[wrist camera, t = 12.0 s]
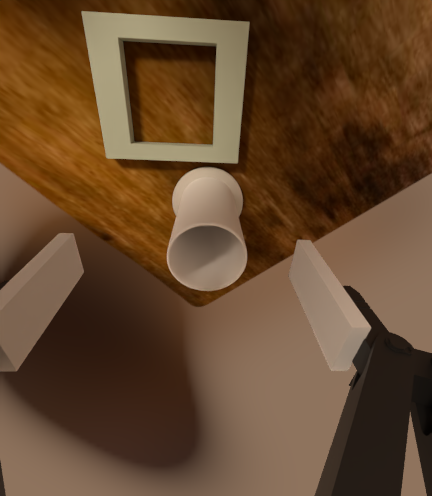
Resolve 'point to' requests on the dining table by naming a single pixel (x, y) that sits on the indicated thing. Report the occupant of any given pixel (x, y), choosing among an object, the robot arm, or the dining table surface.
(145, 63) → the dining table surface
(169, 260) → the cup
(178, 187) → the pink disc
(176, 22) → the pale green rectangular frame
